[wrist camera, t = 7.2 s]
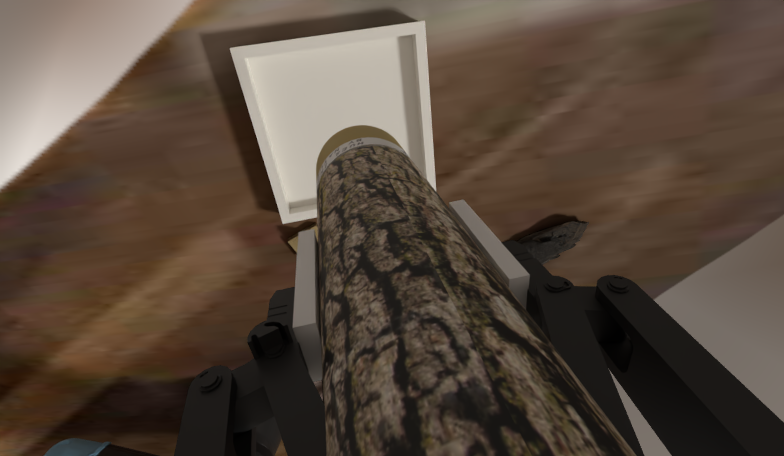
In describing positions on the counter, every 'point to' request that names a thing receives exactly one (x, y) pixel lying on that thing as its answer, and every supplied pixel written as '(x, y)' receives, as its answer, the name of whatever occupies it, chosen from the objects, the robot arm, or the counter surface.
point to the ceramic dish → (334, 101)
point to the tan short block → (294, 239)
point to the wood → (553, 240)
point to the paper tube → (430, 326)
